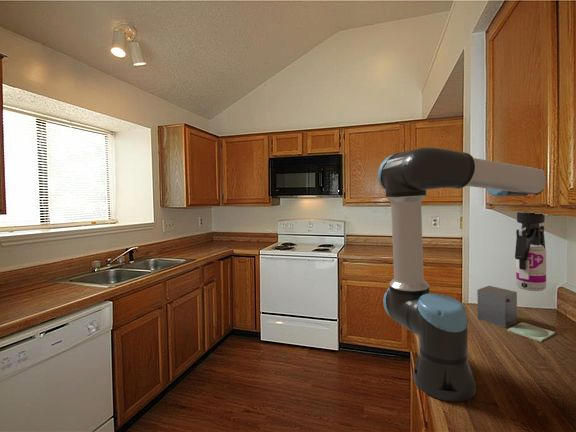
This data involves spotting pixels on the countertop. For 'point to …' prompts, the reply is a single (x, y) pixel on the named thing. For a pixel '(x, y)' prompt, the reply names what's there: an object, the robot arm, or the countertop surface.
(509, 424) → the countertop surface
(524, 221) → the robot arm
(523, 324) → the pad
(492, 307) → the box
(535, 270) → the supplement can
